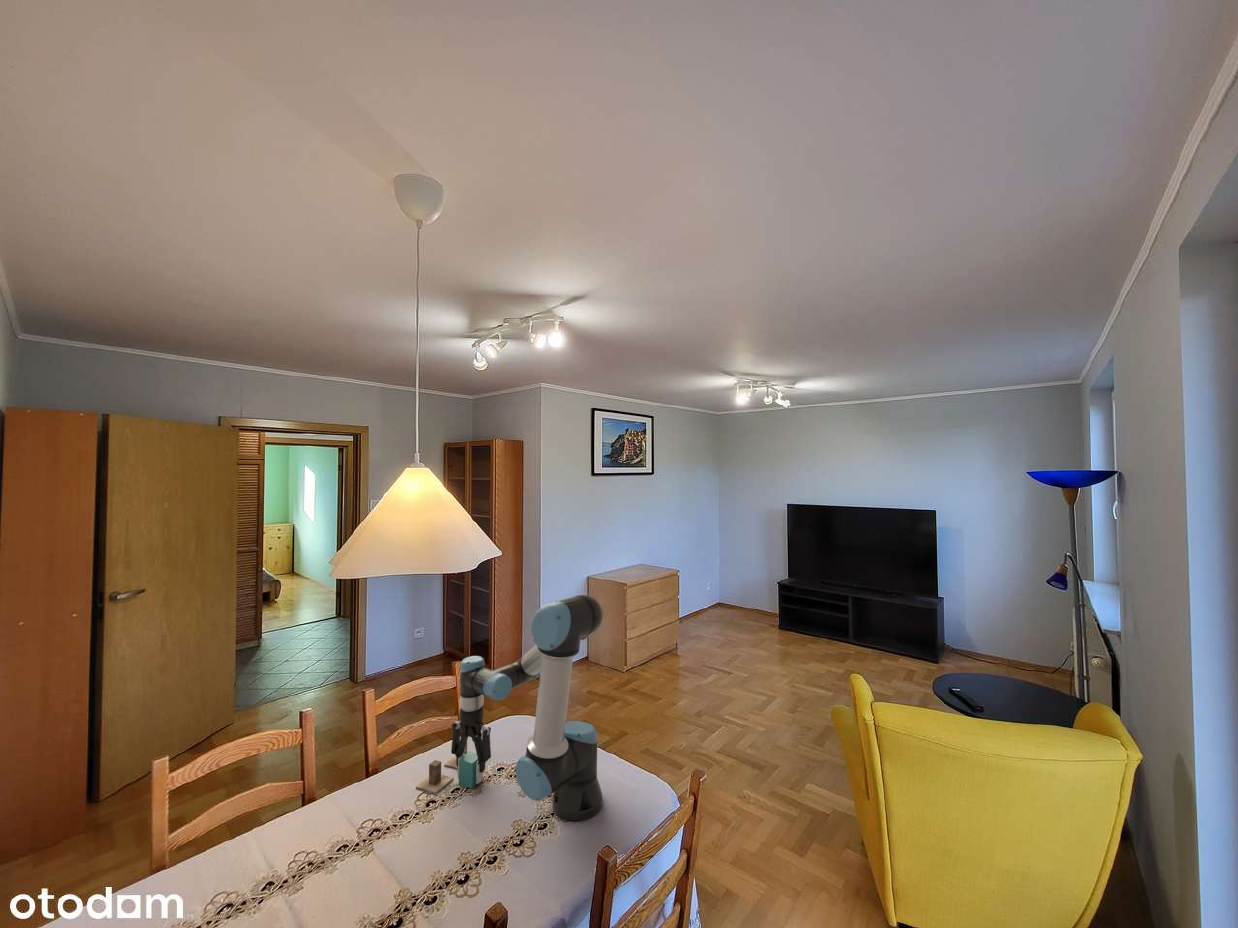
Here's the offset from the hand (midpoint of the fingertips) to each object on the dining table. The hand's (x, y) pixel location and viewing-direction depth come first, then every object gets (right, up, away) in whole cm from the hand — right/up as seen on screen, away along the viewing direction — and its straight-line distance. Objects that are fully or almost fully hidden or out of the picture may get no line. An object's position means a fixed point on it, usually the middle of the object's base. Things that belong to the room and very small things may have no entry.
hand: (470, 778), depth 155 cm
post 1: (-11, -1, -1) cm, 11 cm away
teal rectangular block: (0, -1, 0) cm, 1 cm away
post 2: (-6, -1, +11) cm, 13 cm away
